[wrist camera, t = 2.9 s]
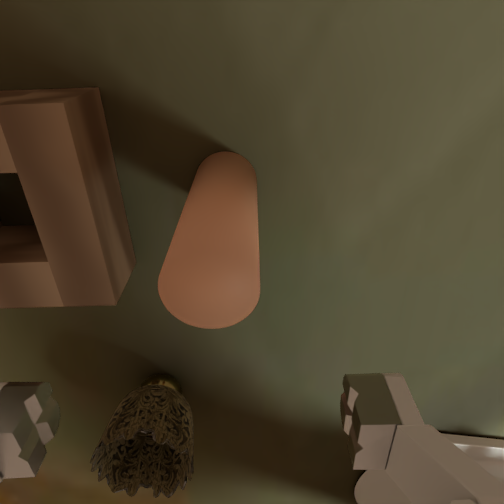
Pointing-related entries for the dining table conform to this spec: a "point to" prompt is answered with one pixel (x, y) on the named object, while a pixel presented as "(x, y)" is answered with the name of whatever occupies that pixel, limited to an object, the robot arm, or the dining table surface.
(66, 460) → the dining table surface
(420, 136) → the dining table surface
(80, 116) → the socket block
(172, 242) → the peg
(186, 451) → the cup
